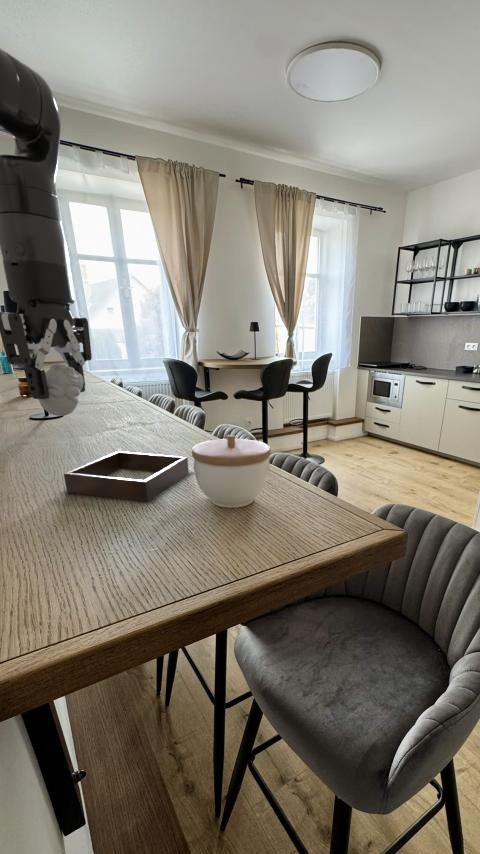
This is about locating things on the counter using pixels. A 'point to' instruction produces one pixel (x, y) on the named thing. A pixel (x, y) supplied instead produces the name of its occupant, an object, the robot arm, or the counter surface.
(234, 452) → the lidded bowl
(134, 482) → the square wooden tray
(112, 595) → the counter surface
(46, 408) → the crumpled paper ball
